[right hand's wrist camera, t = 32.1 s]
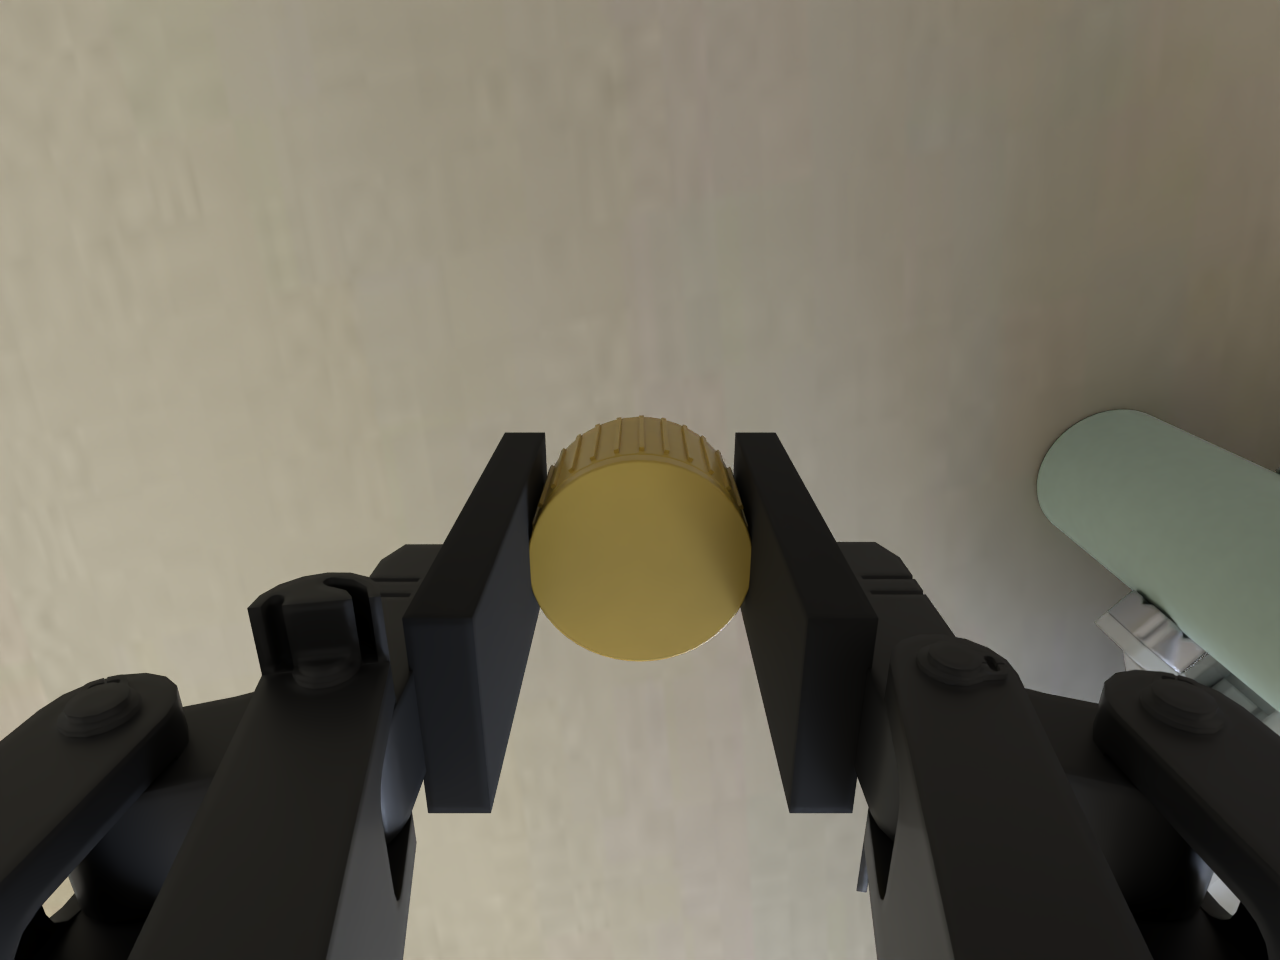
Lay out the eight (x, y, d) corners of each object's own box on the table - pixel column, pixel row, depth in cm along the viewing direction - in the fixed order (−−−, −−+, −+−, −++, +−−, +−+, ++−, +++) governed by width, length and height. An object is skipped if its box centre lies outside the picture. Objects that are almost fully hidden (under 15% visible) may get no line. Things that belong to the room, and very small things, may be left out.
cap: (508, 543, 15) (485, 607, 12) (598, 376, 13) (589, 414, 11) (677, 623, 15) (682, 697, 13) (776, 471, 14) (802, 524, 12)
